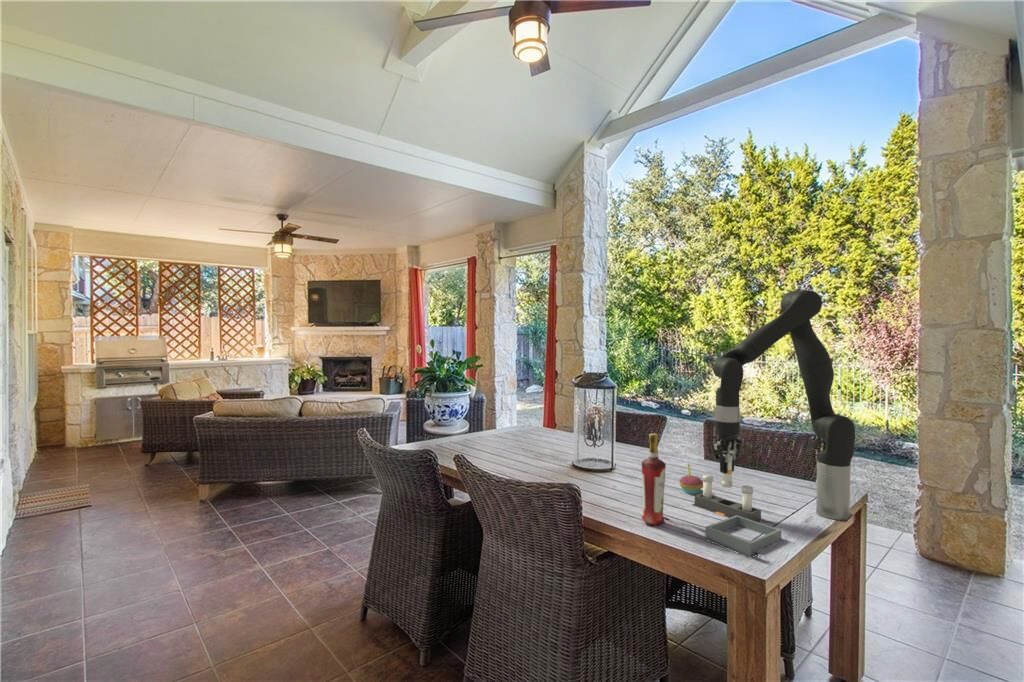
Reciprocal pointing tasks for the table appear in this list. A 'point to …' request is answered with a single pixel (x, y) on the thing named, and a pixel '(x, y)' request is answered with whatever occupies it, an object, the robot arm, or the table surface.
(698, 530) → the table surface
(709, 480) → the cylinder
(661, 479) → the liquor
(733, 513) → the fuse block
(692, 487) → the cupcake
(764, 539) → the tray
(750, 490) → the cylinder
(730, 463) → the cylinder
